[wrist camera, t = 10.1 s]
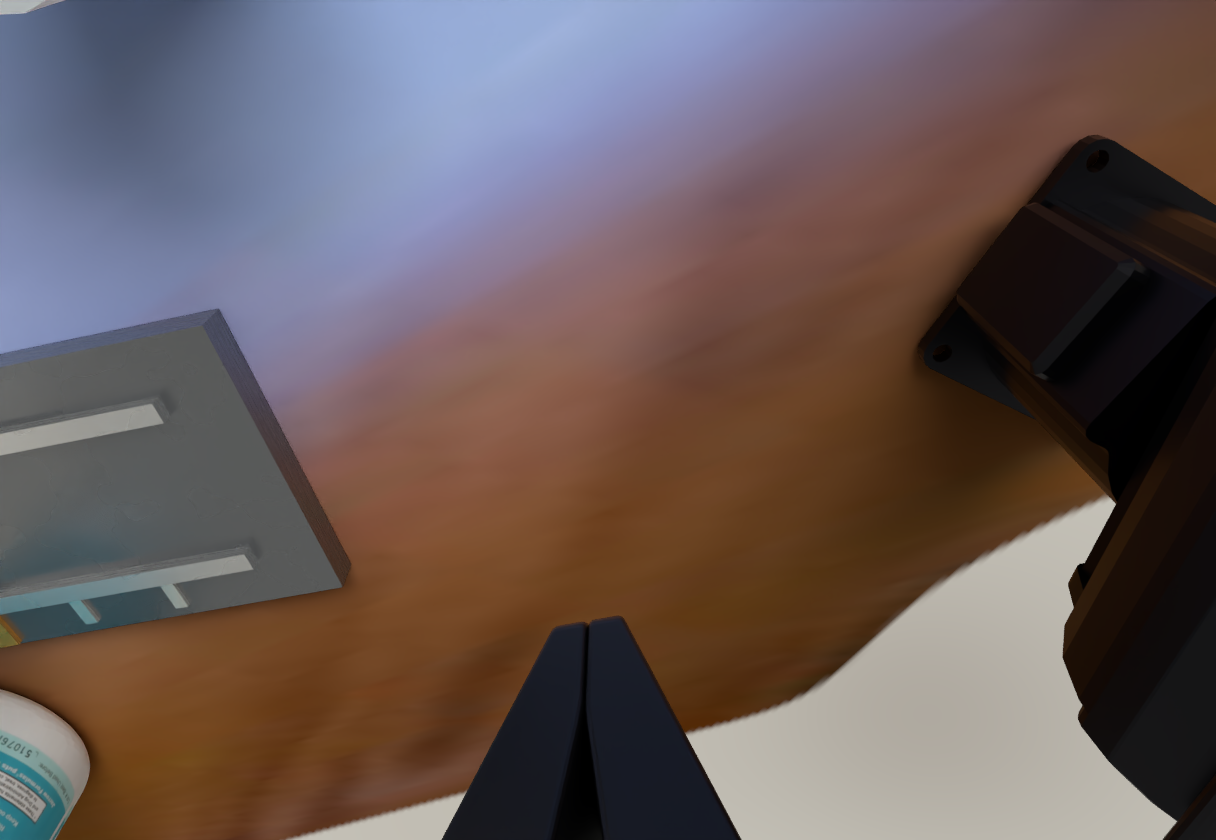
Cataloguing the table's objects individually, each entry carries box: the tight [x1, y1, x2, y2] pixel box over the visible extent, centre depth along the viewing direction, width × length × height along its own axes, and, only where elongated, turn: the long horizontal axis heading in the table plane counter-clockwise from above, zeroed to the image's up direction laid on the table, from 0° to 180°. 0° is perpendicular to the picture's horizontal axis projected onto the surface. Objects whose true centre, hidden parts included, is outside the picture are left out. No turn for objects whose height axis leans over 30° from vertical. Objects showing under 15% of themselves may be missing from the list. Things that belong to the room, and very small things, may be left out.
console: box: [0, 309, 351, 648], centre depth 22 cm, size 14×9×1 cm, turn 102°
